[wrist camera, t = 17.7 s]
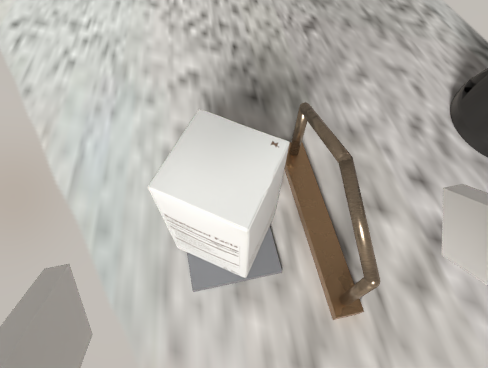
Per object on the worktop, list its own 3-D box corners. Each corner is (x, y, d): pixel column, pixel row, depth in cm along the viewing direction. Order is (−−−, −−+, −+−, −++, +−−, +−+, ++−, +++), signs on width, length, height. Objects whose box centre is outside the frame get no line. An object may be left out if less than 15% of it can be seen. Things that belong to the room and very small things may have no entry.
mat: (260, 195, 44) (260, 192, 44) (281, 272, 39) (282, 271, 39) (181, 210, 43) (180, 208, 42) (193, 292, 38) (192, 290, 38)
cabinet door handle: (299, 147, 48) (322, 63, 35) (359, 313, 37) (423, 281, 25) (278, 150, 47) (293, 67, 35) (333, 319, 37) (383, 290, 24)
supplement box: (210, 184, 44) (198, 103, 31) (276, 212, 42) (294, 138, 29) (174, 248, 40) (142, 185, 27) (245, 281, 38) (249, 232, 25)
